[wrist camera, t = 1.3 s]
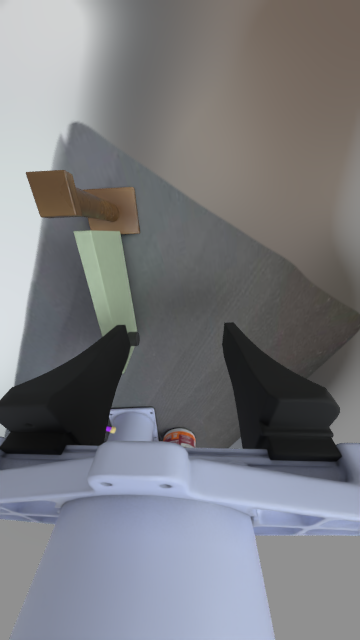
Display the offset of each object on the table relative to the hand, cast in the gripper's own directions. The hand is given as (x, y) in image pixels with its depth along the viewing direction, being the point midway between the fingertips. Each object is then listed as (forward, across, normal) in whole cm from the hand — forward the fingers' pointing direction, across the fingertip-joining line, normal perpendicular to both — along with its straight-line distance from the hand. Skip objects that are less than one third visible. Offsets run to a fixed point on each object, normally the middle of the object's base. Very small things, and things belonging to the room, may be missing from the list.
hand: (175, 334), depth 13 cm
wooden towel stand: (+11, +7, -7) cm, 15 cm away
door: (+9, +6, +1) cm, 11 cm away
